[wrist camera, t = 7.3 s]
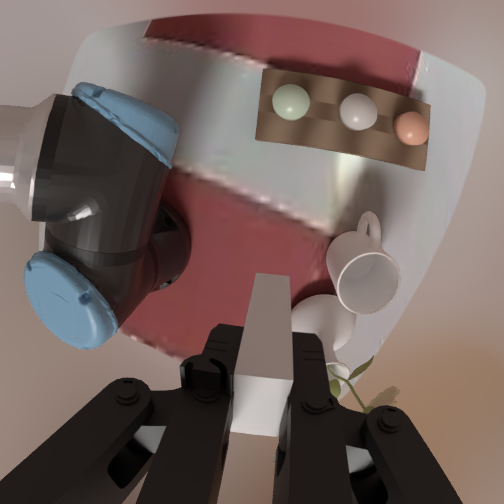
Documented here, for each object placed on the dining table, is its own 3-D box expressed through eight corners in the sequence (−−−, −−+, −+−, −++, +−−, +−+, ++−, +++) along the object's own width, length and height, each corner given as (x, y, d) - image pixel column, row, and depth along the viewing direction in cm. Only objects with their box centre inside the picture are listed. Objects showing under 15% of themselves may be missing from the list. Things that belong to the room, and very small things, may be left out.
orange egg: (386, 141, 33) (398, 140, 29) (389, 111, 32) (401, 107, 28) (413, 148, 33) (427, 148, 29) (416, 120, 31) (429, 117, 28)
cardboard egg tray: (257, 140, 37) (255, 139, 34) (264, 74, 34) (263, 68, 31) (415, 169, 36) (424, 171, 33) (421, 107, 32) (430, 105, 29)
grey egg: (333, 128, 32) (340, 124, 29) (336, 97, 31) (343, 89, 27) (365, 135, 32) (375, 132, 28) (368, 104, 31) (378, 98, 27)
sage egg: (271, 120, 34) (270, 116, 30) (275, 90, 33) (274, 82, 29) (305, 125, 34) (308, 120, 30) (308, 94, 32) (311, 86, 28)
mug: (334, 200, 39) (351, 214, 29) (386, 210, 38) (416, 226, 29) (320, 277, 43) (329, 311, 33) (369, 283, 42) (389, 316, 32)
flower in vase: (309, 356, 48) (318, 479, 24) (272, 314, 46) (260, 444, 22) (372, 318, 44) (422, 435, 21) (339, 270, 42) (389, 388, 18)
